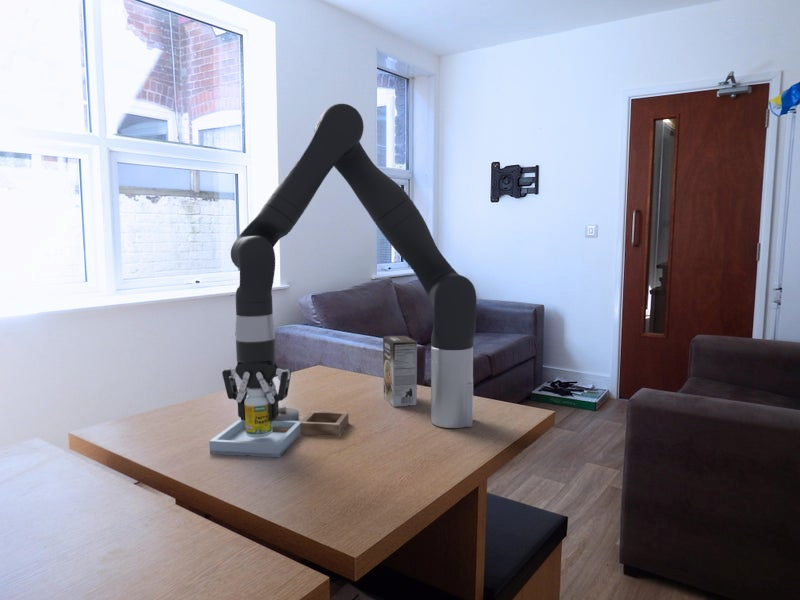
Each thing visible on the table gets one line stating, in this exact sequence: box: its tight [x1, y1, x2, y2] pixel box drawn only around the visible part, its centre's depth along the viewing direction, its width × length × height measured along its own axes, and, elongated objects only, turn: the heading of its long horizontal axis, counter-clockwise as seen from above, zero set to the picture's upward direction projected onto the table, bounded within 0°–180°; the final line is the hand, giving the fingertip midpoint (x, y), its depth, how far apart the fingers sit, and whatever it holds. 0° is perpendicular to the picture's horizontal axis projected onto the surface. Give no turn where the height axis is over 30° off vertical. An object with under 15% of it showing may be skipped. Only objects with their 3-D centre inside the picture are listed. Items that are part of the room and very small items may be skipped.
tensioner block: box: [272, 405, 350, 437], centre depth 125 cm, size 19×10×4 cm, turn 82°
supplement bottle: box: [244, 387, 273, 438], centre depth 116 cm, size 5×5×10 cm
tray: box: [209, 417, 302, 458], centre depth 116 cm, size 14×14×2 cm
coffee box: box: [382, 335, 418, 408], centre depth 145 cm, size 9×6×16 cm
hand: (258, 419), depth 116 cm, fingers closed on supplement bottle, 5 cm apart
